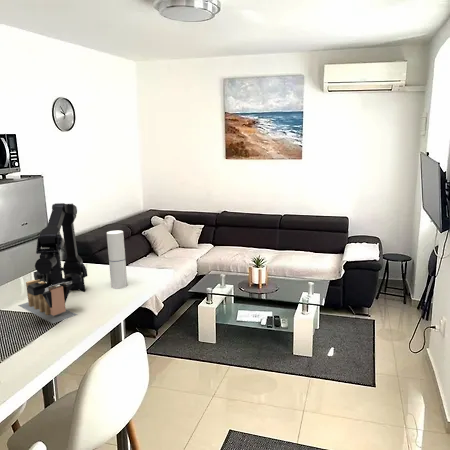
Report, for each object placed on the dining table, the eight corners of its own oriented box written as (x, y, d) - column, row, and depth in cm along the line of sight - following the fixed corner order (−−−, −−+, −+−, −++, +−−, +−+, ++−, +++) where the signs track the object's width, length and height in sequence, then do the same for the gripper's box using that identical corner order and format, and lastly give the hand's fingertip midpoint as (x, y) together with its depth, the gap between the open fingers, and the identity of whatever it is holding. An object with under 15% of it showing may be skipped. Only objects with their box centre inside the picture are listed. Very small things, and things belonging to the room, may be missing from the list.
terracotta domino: (50, 314, 163) (47, 289, 161) (63, 310, 167) (60, 285, 165) (53, 315, 162) (50, 290, 160) (65, 311, 166) (63, 286, 164)
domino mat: (18, 307, 176) (18, 305, 176) (42, 299, 184) (42, 297, 184) (52, 325, 158) (52, 323, 158) (77, 316, 166) (77, 314, 165)
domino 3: (39, 311, 170) (36, 286, 167) (51, 307, 173) (49, 283, 171) (41, 312, 168) (38, 287, 166) (54, 308, 172) (51, 284, 170)
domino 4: (45, 314, 167) (42, 289, 165) (57, 310, 170) (54, 285, 168) (47, 315, 165) (44, 290, 163) (59, 311, 169) (57, 286, 167)
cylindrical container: (113, 289, 193) (108, 234, 188) (109, 285, 199) (104, 231, 194) (129, 286, 196) (125, 232, 191) (125, 282, 203) (120, 229, 197)
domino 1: (28, 305, 175) (25, 282, 173) (40, 302, 179) (38, 278, 177) (31, 306, 174) (27, 283, 172) (43, 303, 178) (40, 279, 176)
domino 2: (34, 308, 172) (31, 284, 170) (46, 304, 176) (43, 281, 174) (36, 309, 171) (33, 285, 169) (48, 305, 175) (45, 281, 173)
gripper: (65, 256, 173) (69, 293, 176) (17, 267, 159) (23, 307, 163) (80, 260, 166) (84, 299, 169) (31, 273, 152) (37, 315, 155)
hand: (57, 305), depth 164 cm, fingers closed on terracotta domino, 5 cm apart
